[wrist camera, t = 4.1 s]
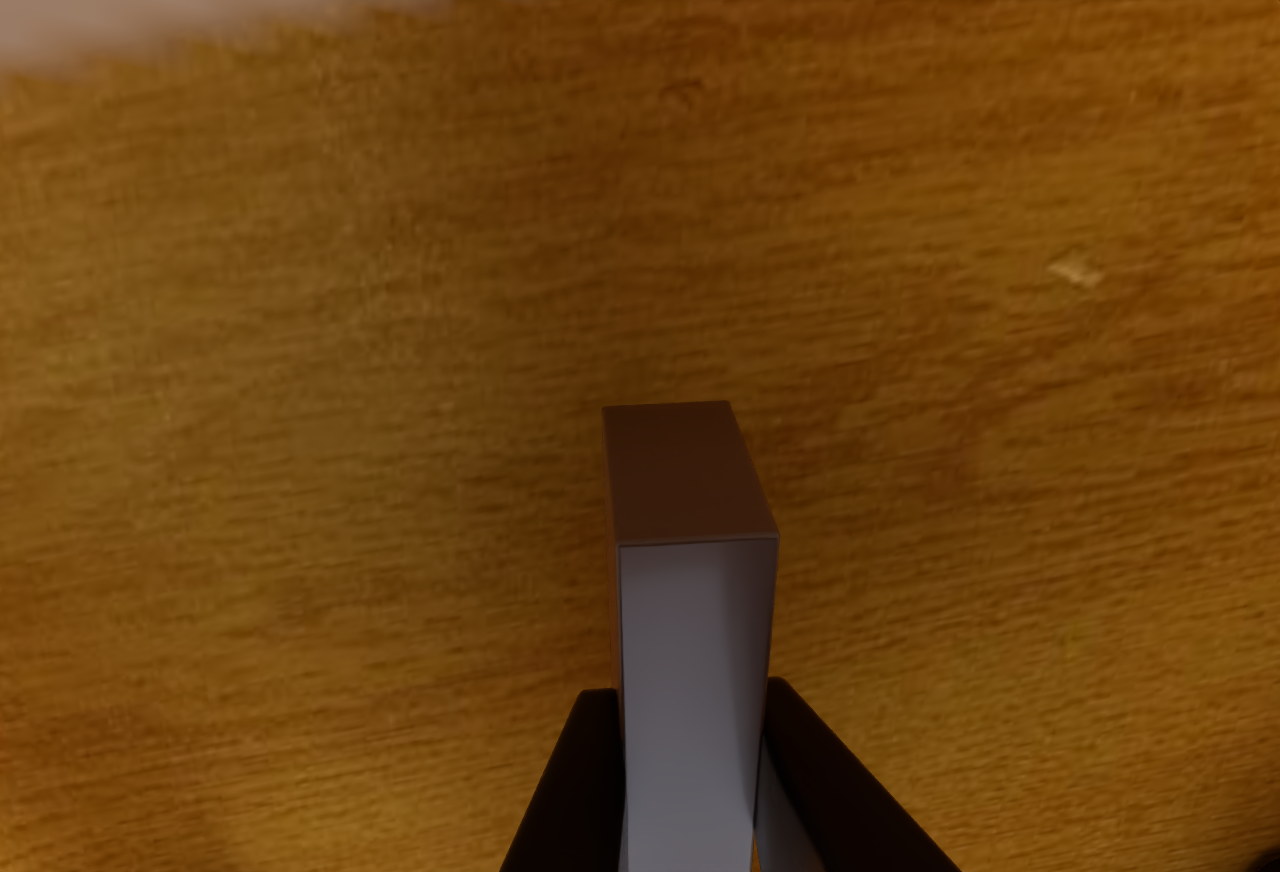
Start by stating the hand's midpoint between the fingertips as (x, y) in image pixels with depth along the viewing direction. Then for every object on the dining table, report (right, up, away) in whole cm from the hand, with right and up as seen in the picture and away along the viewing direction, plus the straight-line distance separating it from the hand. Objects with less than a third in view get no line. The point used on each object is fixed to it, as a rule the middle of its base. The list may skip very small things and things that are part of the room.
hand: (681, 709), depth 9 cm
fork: (0, -3, +3) cm, 4 cm away
